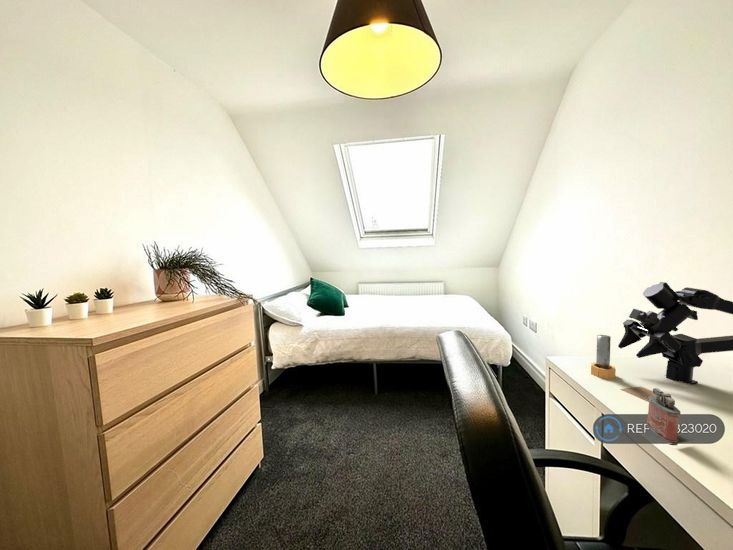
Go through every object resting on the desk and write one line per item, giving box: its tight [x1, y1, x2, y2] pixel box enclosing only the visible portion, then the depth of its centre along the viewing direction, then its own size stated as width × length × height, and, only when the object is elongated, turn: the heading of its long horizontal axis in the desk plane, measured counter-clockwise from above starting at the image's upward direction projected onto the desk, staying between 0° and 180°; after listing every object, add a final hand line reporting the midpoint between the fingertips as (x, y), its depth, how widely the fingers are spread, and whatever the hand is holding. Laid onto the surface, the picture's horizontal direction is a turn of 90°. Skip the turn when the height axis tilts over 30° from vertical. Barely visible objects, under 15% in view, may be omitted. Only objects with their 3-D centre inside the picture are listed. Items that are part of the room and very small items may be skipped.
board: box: [619, 386, 656, 403], centre depth 95 cm, size 8×8×1 cm
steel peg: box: [595, 334, 611, 369], centre depth 108 cm, size 4×4×13 cm
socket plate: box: [590, 362, 617, 380], centre depth 109 cm, size 9×9×4 cm
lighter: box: [646, 387, 682, 446], centre depth 76 cm, size 8×3×10 cm, turn 168°
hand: (627, 351), depth 107 cm, fingers open, 9 cm apart
